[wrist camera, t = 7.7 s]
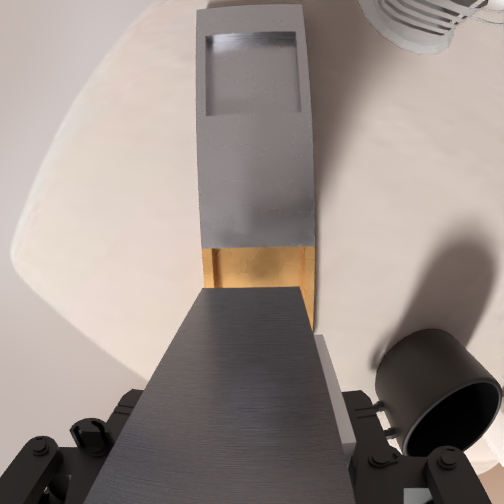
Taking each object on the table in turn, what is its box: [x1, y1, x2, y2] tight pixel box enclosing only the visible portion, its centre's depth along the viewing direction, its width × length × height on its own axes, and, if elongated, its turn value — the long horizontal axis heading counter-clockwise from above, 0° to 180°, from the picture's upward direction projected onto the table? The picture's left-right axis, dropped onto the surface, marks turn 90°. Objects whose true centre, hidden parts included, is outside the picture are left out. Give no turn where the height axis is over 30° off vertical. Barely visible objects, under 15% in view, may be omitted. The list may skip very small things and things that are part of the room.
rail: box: [196, 4, 315, 331], centre depth 22 cm, size 8×28×2 cm, turn 2°
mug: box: [373, 329, 502, 457], centre depth 22 cm, size 9×12×9 cm
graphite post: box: [83, 286, 356, 504], centre depth 10 cm, size 5×5×14 cm
